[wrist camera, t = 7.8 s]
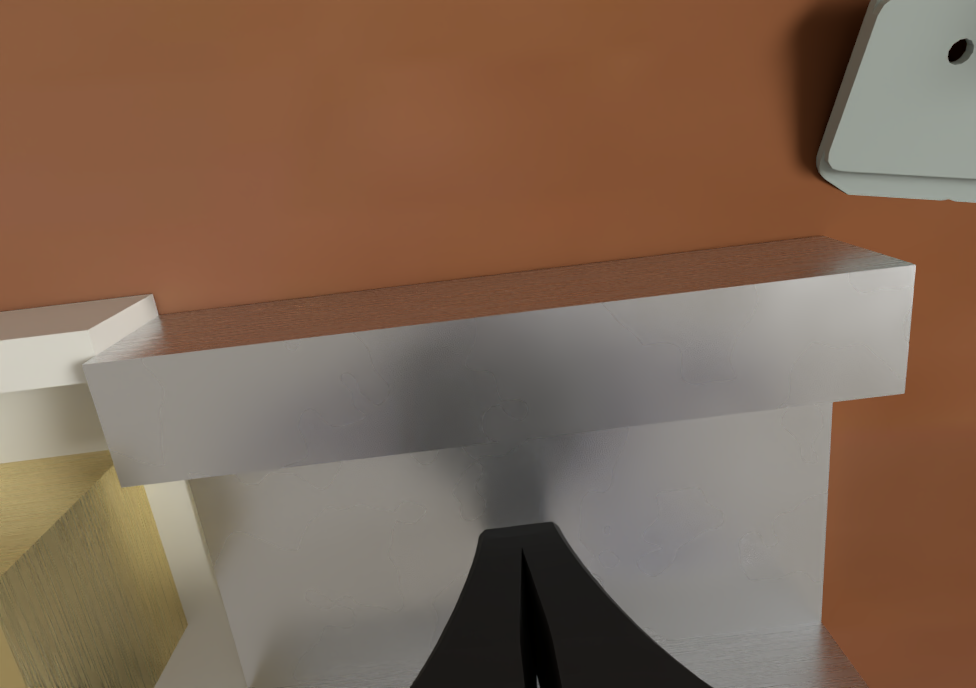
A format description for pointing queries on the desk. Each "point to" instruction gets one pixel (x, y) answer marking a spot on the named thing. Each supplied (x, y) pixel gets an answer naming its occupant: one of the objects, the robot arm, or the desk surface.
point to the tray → (76, 429)
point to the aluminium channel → (520, 450)
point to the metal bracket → (906, 105)
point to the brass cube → (82, 578)
